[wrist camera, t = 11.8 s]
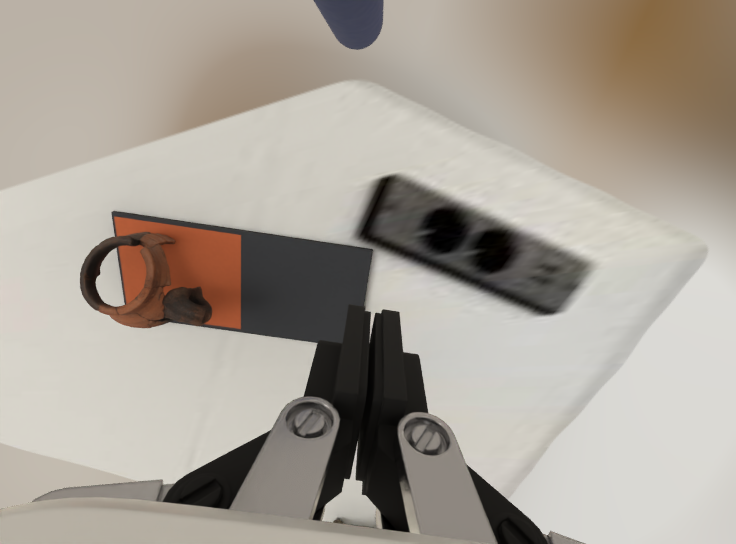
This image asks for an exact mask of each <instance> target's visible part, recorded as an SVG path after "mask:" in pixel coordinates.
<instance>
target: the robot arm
mask: <svg viewBox="0 0 736 544" xmlns="http://www.w3.org/2000/svg"><path fill="white" fill-rule="evenodd" d="M370 317H371V312H368V311H365V307H364V306H357V305H351V304H349V306H348V312H347V318H346V324H345V331H344V337H343V343H337V342H331V341H324V340H319V341H318V344H317V348H316V352H315V356H314V359H313V363H312V367H311V371H310V374H309V378H308V382H307V386H306V390H305V393H304V397H301V398H298V399H295V400H293V401H291V402H290V403H288V404H287V405H286V406H285V407H284V409H283V410H282V411H281V413H280V415H279V417H278V419H277V420H276V422H275V424H274V426H273V428H272V430H270V431H268V432H266V433H265V434H263V435H261V436H259V437H257V438H255V439H253V440H251V441H249V442H248V443H246V444H244V445H242V446H240V447H238V448H236V449H234V450H232V451H230V452H229V453H227V454H225V455H223V456H221V457H219V458H217V459H215V460H213V461H212V462H210V463H208V464H206V465H204V466H202V467H200V468H198V469H196V470H194V471H193V472H191V473H189V474H187V475H186V476H184V477H183V478H181V479H180V480H178V481H177V482H176V483H175V484H166V485H163V480H151V481H140V482H129V483H118V484H105V485H93V486H82V487H70V488H63V489H59V490H55V491H51V492H49V493H47V494H44V495H42V496H40V497H38V498H36V499H35V500H33V501H32V502H30V503H26V504H21V505H16V506H12V507H7V508H3V509H0V544H585V543H582V542H579V541H576V540H574V539H571V538H568V537H565V536H563V535H560V534H557V533H555V532H552V531H550V533H549V534H548V535H545V534H542V532H541V531H540V529H539V528H538V527H537V526H536V525H535V524H534V523H533V522H532V521H531V520H530V519H529V518H528V517H527V516H526V515H524V514H523V513H522V512H521V511H520V510H519V509H518V508H516V507H515V506H514V505H513V504H512V503H510V502H509V501H508V500H507V499H506V498H505V497H504V496H502V495H501V494H500V493H499V492H498V491H497V490H496V489H494V488H493V487H492V486H491V485H490V484H489V483H487V482H486V481H485V480H484V479H483V478H482V477H480V476H479V475H478V474H477V473H476V472H475V471H474V470H472V469H471V468H470V467H469V466H468V465H467V464H466V463H465V460H464V458H463V455H462V453H461V450H460V448H459V445H458V442H457V440H456V437H455V435H454V433H453V432H452V430H451V428H450V427H449V426H448V425H447V424H446V423H445V422H444V421H443V420H441V419H439V418H438V417H436V416H434V415H431V414H429V413H428V409H427V402H426V396H425V390H424V383H423V377H422V371H421V364H420V358H419V355H418V354H411V353H404V352H403V346H402V336H401V325H400V315H399V312H396V311H390V310H382V313H375V317H374V322H373V328H372V333H371V338H370ZM369 339H370V343H369ZM357 441H358V449H357V464H356V480H359V481H363V483H362V495H366V496H367V497H368V498H369V499H370V500H371V502H372V503H373V504H374V505H375V506H376V517H375V519H376V526H377V528H370V527H363V526H355V525H347V524H339V523H332V522H324V521H322V519H323V515H324V512H325V506H326V504H327V503H328V502H329V501H331V500H332V499H333V498H334V497H336V496H337V495H338V494H340V493H341V492H342V487H343V482H344V479H350V475H351V470H352V466H353V461H354V456H355V451H356V446H357Z"/></svg>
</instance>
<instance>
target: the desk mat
mask: <svg viewBox="0 0 736 544" xmlns="http://www.w3.org/2000/svg"><path fill="white" fill-rule="evenodd" d="M112 219H113V226H114V233H115V237H116V236H126V235H129V234H134V233H140V232H150V233H151V234H152V233H154V234H156V233H159V234H162V235H167V236H169V237H171V238H173V239H174V240H175V241H176V242H175V244H164V245H161V247H162V249H163V250H164V252H165V255H166V258H167V263H168V265H169V270H170V278H171V285H170V286H166V287H163V292H164V295H166V294H167V292H169V291H170V290H172V289H175V288H179V287H186V288H196V287H201V289H202V294H203V297H204V298H205V300H206V301H208V302H209V304H210V305H211V307H212V316H211V319H210V320H209V321H208V322H206V323H205V324H204V325H202V326H201V327H208V328H215V329H222V330H229V331H236V332H244V333H251V334H258V335H265V336H272V337H279V338H286V339H294V340H301V341H308V342H315V343H318V341H319V340H324V341H331V342H337V343H343V337H344V331H345V324H346V318H347V312H348V306H349V304H351V305H357V306H364V301H365V295H366V289H367V282H368V276H369V270H370V264H371V257H372V251H373V249H367V248H360V247H353V246H346V245H340V244H333V243H326V242H319V241H313V240H306V239H299V238H292V237H286V236H279V235H272V234H265V233H259V232H252V231H245V230H238V229H232V228H225V227H218V226H211V225H205V224H198V223H191V222H184V221H178V220H171V219H164V218H157V217H151V216H144V215H137V214H130V213H123V212H117V211H113V212H112ZM142 248H143V246H141V245H138V246H128V245H126V246H119V247H117V253H118V260H119V267H120V274H121V281H122V288H123V295H124V302H125V305H126V304H128V303H129V302H131V301H132V300H134V299H135V298H136V297H137V295H138V294H139V293H140V292H141V290H142V289H143V288H144V284H145V279H146V264H145V261H144V259H143V257H142V255H141V253H140V250H141V249H142ZM171 322H172V323H179V324H186V325H192V324H189V323H185V322H178V321H175V320H174V321H171ZM194 326H195V325H194Z"/></svg>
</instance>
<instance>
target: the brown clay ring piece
mask: <svg viewBox="0 0 736 544" xmlns="http://www.w3.org/2000/svg"><path fill="white" fill-rule="evenodd" d="M175 242H176V241H175V240H174V239H173V238H171V237H169V236H167V235H162V234H159V233H156V234H154V233H152V234H151V233H150V232H140V233H134V234H129V235H126V236H116V237H111V238H109V239H106V240H104V241H103V242H101V243H100V244H99V245H98V246H96V247H95V248H94V249H92V250H91V252H90V253H89V255H88V256H87V257H86V259H85V261H84V263H83V265H82V268H81V273H80V288H81V291H82V295H83V297H84V298H85V300H86V301H87V303H88V304H89V305H90V306H91V307H92V308H94V309H95V310H97V311H99V312H101V313H103V314H107V315H110V317H111V318H112V319H114V320H115V321H117V322H118V323H120V324H123V325H126V326H130V327H136V328H151V327H155V326H159V325H163V324H165V323H168V322H171V321H174V320H175V321H178V322H185V323H189V324H192V325H195V326H202V325H204V324H205V323H206V322H208V321H209V320H210V319H211V316H212V307H211V305H210V304H209V302H208V301H206V300H205V298H204V297H203V294H202V289H201V287H196V288H186V287H179V288H175V289H172V290H170V291H169V292H167V294H166V295H164V292H163V287H166V286H170V285H171V278H170V270H169V265H168V263H167V258H166V255H165V252H164V250H163V249H162V247H161V245H164V244H175ZM126 245H128V246H138V245H141V246H143V248H142V249H141V250H140V253H141V255H142V257H143V259H144V261H145V264H146V279H145V284H144V288H143V289H142V290H141V292H140V293H139V294H138V295H137V297H136V298H135V299H134V300H132V301H131V302H129V303H128V304H126V305H123V306H119V307H113V306H110V305H108V304H106V303H104V302H103V301H102V299H101V298H100V296H99V294H98V291H97V289H96V283H95V282H96V278H97V276H98V275H100V266H101V263H102V261H103V260H104V258H105V257H106V256H107V254H108V253H109V252H110V251H112V250H113V249H115V248H116V247H119V246H126Z"/></svg>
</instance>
